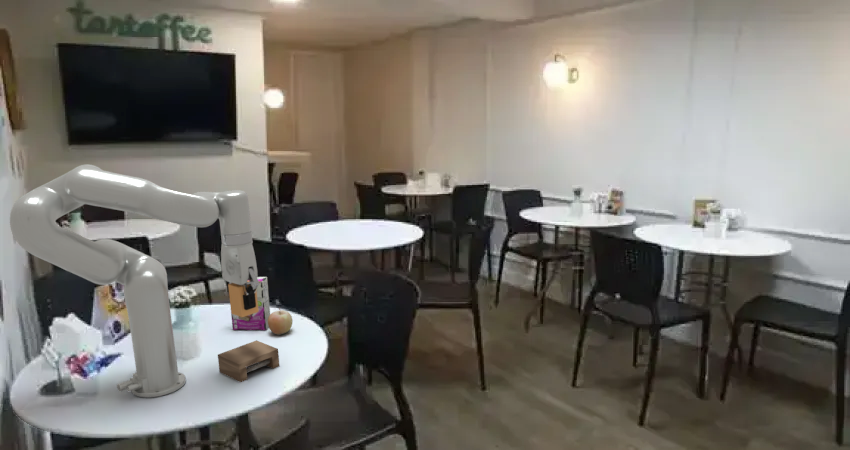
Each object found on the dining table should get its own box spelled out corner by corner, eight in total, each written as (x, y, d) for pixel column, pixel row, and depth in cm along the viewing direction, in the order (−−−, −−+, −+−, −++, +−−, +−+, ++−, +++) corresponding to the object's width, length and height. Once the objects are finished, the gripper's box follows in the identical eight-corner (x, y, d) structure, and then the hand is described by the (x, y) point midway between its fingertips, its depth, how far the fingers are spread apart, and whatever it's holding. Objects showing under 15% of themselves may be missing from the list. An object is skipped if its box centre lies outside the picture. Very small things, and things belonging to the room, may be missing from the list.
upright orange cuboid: (242, 317, 157) (238, 287, 156) (231, 313, 160) (228, 284, 159) (258, 311, 161) (255, 282, 159) (247, 308, 164) (244, 279, 163)
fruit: (271, 329, 193) (269, 304, 191) (294, 327, 193) (292, 303, 191) (266, 338, 185) (264, 313, 183) (291, 336, 185) (288, 311, 184)
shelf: (240, 382, 156) (238, 364, 155) (219, 372, 163) (217, 354, 162) (279, 366, 165) (278, 348, 164) (258, 357, 172) (256, 340, 170)
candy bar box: (232, 330, 192) (226, 280, 189) (238, 325, 197) (233, 276, 194) (266, 331, 191) (261, 280, 188) (272, 325, 196) (267, 275, 192)
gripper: (206, 237, 159) (213, 304, 163) (242, 246, 148) (250, 317, 152) (231, 232, 165) (238, 296, 169) (268, 240, 154) (275, 308, 158)
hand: (243, 305), depth 160 cm, fingers closed on upright orange cuboid, 5 cm apart
